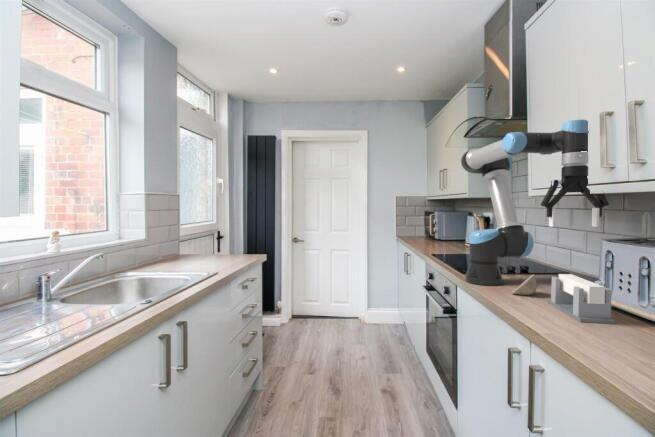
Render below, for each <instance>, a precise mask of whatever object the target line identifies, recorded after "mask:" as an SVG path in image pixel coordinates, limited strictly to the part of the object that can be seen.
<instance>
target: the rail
mask: <svg viewBox="0 0 655 437" xmlns="http://www.w3.org/2000/svg"><path fill="white" fill-rule="evenodd" d="M558 278H559V279H560V289H561V290H563V291H565V292H567V293H569V294H571V295H573V294H574V286H576V287H580V288H583V289H584V299H583V301H585V302H587V303H592V304H605V288H606V286H603V285H601V284H598V283H596V282H593V281H590V280H587V279H585V278H582V277H580V276H577V275H574V274H572V273H558Z"/></svg>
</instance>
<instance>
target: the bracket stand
mask: <svg viewBox="0 0 655 437" xmlns="http://www.w3.org/2000/svg"><path fill="white" fill-rule="evenodd" d="M550 289H551V290H550V291H551V292H550V299H547V303H548V304H551V306H553V307H554V308H556V309H558V310H560V311H561V312H563V313H564V314H566V315H568V316H570V317H571V318H573V319H574V320H576V321H578V322H580V323H589V324H590V323H591V324H592V323H595V324H612V325H613V324H614V325H615V324H616V320H615V319H614V318H612V289H610V288H607V287H605V304H592V303H587V302H585V301H583V299H584V289H583V288H580V287H576V286H574V294H573V295H571V294H569V293H567V292H565V291H563V290H561V289H560V279H559V277H557V276H551V288H550Z"/></svg>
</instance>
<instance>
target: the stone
mask: <svg viewBox="0 0 655 437" xmlns="http://www.w3.org/2000/svg"><path fill="white" fill-rule="evenodd" d="M537 287H538V286H537V280H536V275H535V274H532V275H530V276H529V277H528V278H527V279H526V280H524V281H523V282H522V283H521V284H519V286H518V287H516V288H515V289H514V290H513V291H512V292H511V294H512V295H519V296H521V295H522V296H531V295H533V294H534V293H535V292H536V291H537Z"/></svg>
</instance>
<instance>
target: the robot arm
mask: <svg viewBox="0 0 655 437" xmlns="http://www.w3.org/2000/svg"><path fill="white" fill-rule="evenodd" d="M588 122H589V121H588V120H586V119H572V120H568V121H565V122H564V123H562V126H561V130H558V131H554V132H525V131H524V132H523V131H515V132H508V133H507V134H506V135H505V136H504V137H503V139H501V140H497V141H496V142H492V143H490V144H488V145H485V146H483V147H480V148H477V147H476V148H471V149H469V150H467V151H465V152H464V153H463V154H462V156H461V158H460V163H461V166H462V169H463V170H464V171H466V172H468V173H471V174H481V176H482V179H483V181H485V182H487V187H488V190H489V195H490V199H491V204H492V208H493V213H494V216H495V221H496V224H497V227H496V228H487V229H477V230H474V231H472V232H471V233H470V234H469V241H468V242H469V265H468V267H467V271H466V273H465V275H464V276H465V277H464V280H465V282H467V283H469V284H473V285H479V286H500V285H502V284H503V280H504V279H503V276H502V273H501V270H500V266H499V259H507V258H508V259H519V258H526V257H527V256H529V255H530V254H531V252H532V250H533V248H534V245H535V244H534V238H533V235H532V234H531V233H530V232H528V231H525V227H524V225H522V224H521V223H519V220H518V217H517V212H516V209H515V205H514V201H513V197H512V193H511V192H512V191H511V189H510V184H509V182H508V178H507V176H509V174H510V171H511V169H512V167H513V166H512V165H513V159H512V157H513V156H517V155H520V154H539V155H541V156H542V155H543V156H544V155H552V154H555V153H560V152H561V166H562V167H561V170H560V171H561V172H560V173H561V175H560V176H561V180H558V179H553V180H551V181H550V187H549V189H548V190H547V192H546V194H545V195H544V198H543V200H542V201H541V203H540V206H541V207H544V208H546V217H547V218H548V221H549V222H548V226H549V227H552V228H553V227H556V207H554V206H555V205H557V204H558V202H559V201H560V200H561V199H562V198H563V197H564V196H565V195H566V194H568V193H580V194H582V195H584V197H585V198H586V199H587V200H588V201H589V202H590V204H591V205H593V207H591V208H592V209H591V227H596V228H599V227H600V218H602V216H603V209H604V208H605V207H606V206H609V205H610V204H609V201H608V199H607V197H606V195H605V193H604V192H603V194H595V193H594V194H593V193H592V194H590V192H591V190H590V188H588V185H589V184H588V180H589V178H587V176H588V177H589V166H588V164H589V155H588V133H589V131H590V130H589V131H588ZM589 134H590V133H589ZM581 151H587V152H581ZM559 186H561V189H560V190H558V192H557V193H556V195H554V194H555V192H556V190H557V189H558V187H559ZM552 197H553V198H552Z"/></svg>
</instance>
